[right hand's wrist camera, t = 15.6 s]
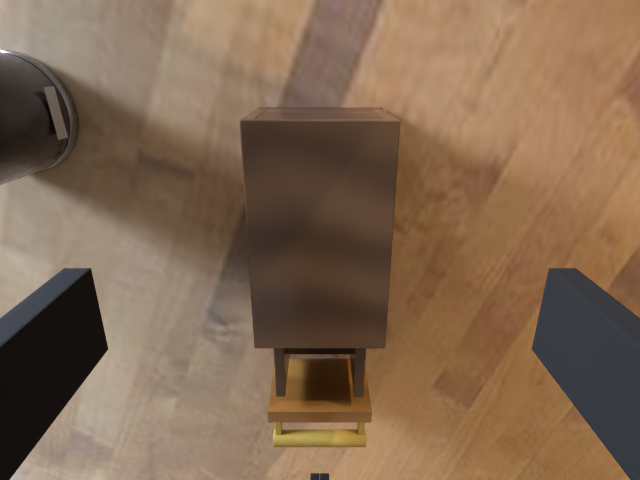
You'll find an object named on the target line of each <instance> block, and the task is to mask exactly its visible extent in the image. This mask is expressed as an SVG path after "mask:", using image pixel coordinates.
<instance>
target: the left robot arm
mask: <svg viewBox="0 0 640 480" xmlns="http://www.w3.org/2000/svg"><path fill="white" fill-rule="evenodd" d="M77 131H78V120H77V114H76V109H75V106H74V103H73V101H72V98H71V96H70V94H69V92H68V91H67V89H66V87H65V86H64V85H63V83H62V82H61V80H60V79H59V78H58V77H57V76H56V75H55V74H54V73H53V72H52V71H51V70H50V69H49V68H47V67H46V66H45V65H43V64H42V63H41V62H39V61H37V60H36V59H34V58H32V57H30V56H27V55H25V54H22V53H18V52H13V51H5V50H0V185H2V184H4V183H7V182H10V181H13V180H15V179H18V178H21V177H24V176H26V175H29V174H32V173H38V172H41V171H44V170H47V169H50V168H52V167H54V166H56V165H58V164H59V163H61V162H62V161H63V160H64V159H65V158H66V157H67V156H68V155H69V153H70V152H71V150H72V149H73V146H74V144H75V141H76V138H77ZM311 480H319V473H311ZM320 480H329V474H320Z"/></svg>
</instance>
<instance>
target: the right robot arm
mask: <svg viewBox="0 0 640 480" xmlns="http://www.w3.org/2000/svg"><path fill="white" fill-rule="evenodd" d="M107 350H108V346H107V341H106V337H105V332H104V327H103V323H102V318H101V313H100V309H99V304H98V299H97V295H96V290H95V285H94V281H93V276H92V271H91V268H64V269H63V270H62V271H60V272H59V273H58V274H56V275H55V276H54V277H53V278H51V279H50V280H49V281H47V282H46V283H45V284H44V285H42V286H41V287H40V288H38V289H37V290H36V291H35V292H33V293H32V294H31V295H30V296H28V297H27V298H26V299H24V300H23V301H22V302H21V303H19V304H18V305H17V306H15V307H14V308H13V309H12V310H10V311H9V312H8V313H6V314H5V315H4V316H3V317H1V318H0V480H10V478H11V477H12V476H13V474H14V473H15V472H16V470H17V469H18V468H19V466H20V465H21V464H22V462H23V461H24V460H25V458H26V457H27V456H28V454H29V453H30V452H31V451H32V449H33V448H34V447H35V445H36V444H37V443H38V441H39V440H40V439H41V437H42V436H43V435H44V433H45V432H46V431H47V429H48V428H49V427H50V425H51V424H52V423H53V421H54V420H55V419H56V417H57V416H58V415H59V413H60V412H61V411H62V410H63V408H64V407H65V406H66V404H67V403H68V402H69V400H70V399H71V398H72V396H73V395H74V394H75V392H76V391H77V390H78V388H79V387H80V386H81V384H82V383H83V382H84V380H85V379H86V378H87V376H88V375H89V374H90V372H91V371H92V370H93V368H94V367H95V366H96V365H97V363H98V362H99V361H100V359H101V358H102V357H103V355H104V354H105V353H106V351H107ZM532 350H533V351H534V353H535V354H536V355H537V357H538V358H539V359H540V361H541V362H542V363H543V365H544V366H545V367H546V368H547V370H548V371H549V372H550V374H551V375H552V376H553V378H554V379H555V380H556V382H557V383H558V384H559V386H560V387H561V388H562V390H563V391H564V392H565V394H566V395H567V396H568V398H569V399H570V400H571V402H572V403H573V404H574V406H575V407H576V408H577V410H578V411H579V412H580V413H581V415H582V416H583V417H584V419H585V420H586V421H587V423H588V424H589V425H590V427H591V428H592V429H593V431H594V432H595V433H596V435H597V436H598V437H599V439H600V440H601V441H602V443H603V444H604V445H605V447H606V448H607V449H608V451H609V452H610V453H611V454H612V456H613V457H614V458H615V460H616V461H617V462H618V464H619V465H620V466H621V468H622V469H623V470H624V472H625V473H626V474H627V476H628V477H629V478H630V480H640V318H639V317H637V316H636V315H635V314H634V313H632V312H631V311H630V310H628V309H627V308H626V307H625V306H623V305H622V304H621V303H619V302H618V301H617V300H616V299H614V298H613V297H612V296H610V295H609V294H608V293H607V292H605V291H604V290H603V289H602V288H600V287H599V286H598V285H596V284H595V283H594V282H593V281H591V280H590V279H589V278H587V277H586V276H585V275H584V274H582V273H581V272H580V271H578V270H577V269H576V268H549V271H548V276H547V281H546V285H545V290H544V295H543V299H542V304H541V309H540V313H539V318H538V323H537V327H536V332H535V337H534V341H533V346H532Z"/></svg>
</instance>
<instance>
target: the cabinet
mask: <svg viewBox="0 0 640 480" xmlns="http://www.w3.org/2000/svg"><path fill="white" fill-rule="evenodd" d="M399 132H400V120H398V119H397V118H395V117H394V116H392V115H391V114H389V113H388V112H386V111H385V110H383V108H257V110H255V111H254V112H252V113H251V114H249V115H247V116H246V117H244V118H243V119H241V120H240V133H241V148H242V163H243V179H244V194H245V209H246V225H247V240H248V255H249V271H250V286H251V301H252V316H253V332H254V347H255V348H385V341H386V326H387V311H388V296H389V281H390V266H391V252H392V237H393V222H394V207H395V192H396V177H397V162H398V147H399Z"/></svg>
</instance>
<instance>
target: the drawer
mask: <svg viewBox="0 0 640 480" xmlns="http://www.w3.org/2000/svg"><path fill="white" fill-rule="evenodd" d="M290 354H350V359H289V358H290ZM365 356H366V348H274V364H275V367H274V374H273V380H272V387H271V393H270V400H269V406H268V422H275V430H274V433H273V447H366V431H365V430H364V426H365V422H371V416H372V410H371V403H370V396H369V390H368V383H367V377H366V370H365ZM282 422H358V427H357V430H282Z"/></svg>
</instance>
